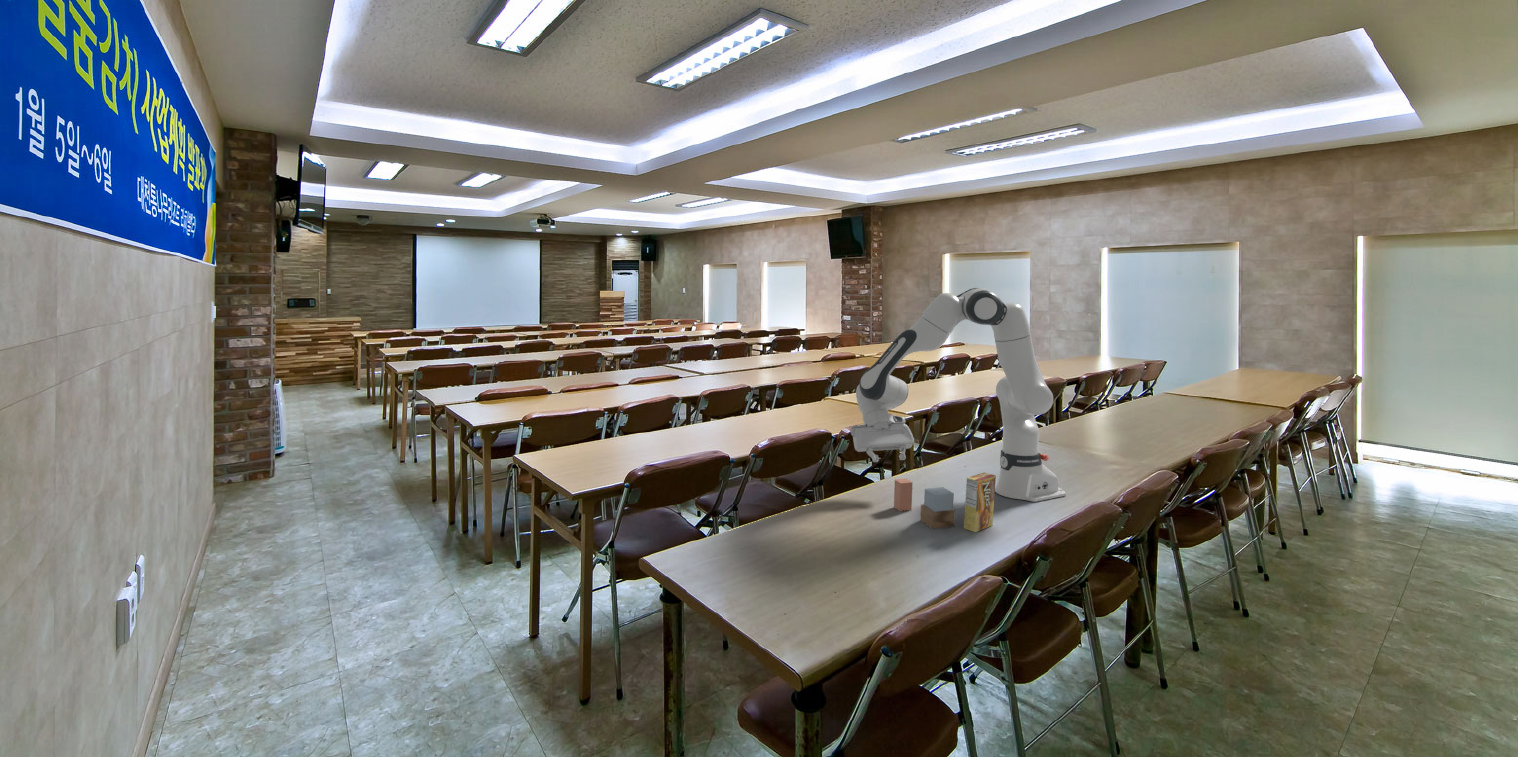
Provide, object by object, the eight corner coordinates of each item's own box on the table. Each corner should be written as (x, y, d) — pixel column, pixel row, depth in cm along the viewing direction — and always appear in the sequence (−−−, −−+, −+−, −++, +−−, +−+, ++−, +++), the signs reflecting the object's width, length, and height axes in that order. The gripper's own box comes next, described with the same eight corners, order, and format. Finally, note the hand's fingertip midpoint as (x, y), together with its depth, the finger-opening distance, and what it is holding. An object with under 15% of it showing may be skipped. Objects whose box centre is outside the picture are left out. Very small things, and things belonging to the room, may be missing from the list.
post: (905, 506, 214) (906, 478, 213) (911, 510, 210) (912, 482, 209) (893, 507, 213) (894, 479, 212) (899, 511, 209) (900, 483, 208)
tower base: (941, 518, 204) (942, 502, 203) (954, 526, 197) (954, 510, 196) (920, 520, 202) (921, 504, 201) (932, 529, 195) (932, 512, 194)
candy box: (980, 521, 201) (983, 471, 198) (993, 525, 197) (996, 474, 195) (963, 528, 195) (965, 477, 193) (976, 533, 192) (978, 480, 190)
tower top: (942, 503, 202) (943, 487, 202) (953, 509, 197) (953, 493, 196) (924, 505, 201) (924, 488, 200) (934, 511, 195) (935, 495, 194)
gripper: (851, 420, 222) (862, 457, 214) (908, 417, 227) (921, 453, 219) (846, 430, 227) (857, 467, 219) (902, 427, 232) (914, 462, 224)
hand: (889, 460), depth 219 cm, fingers open, 8 cm apart
